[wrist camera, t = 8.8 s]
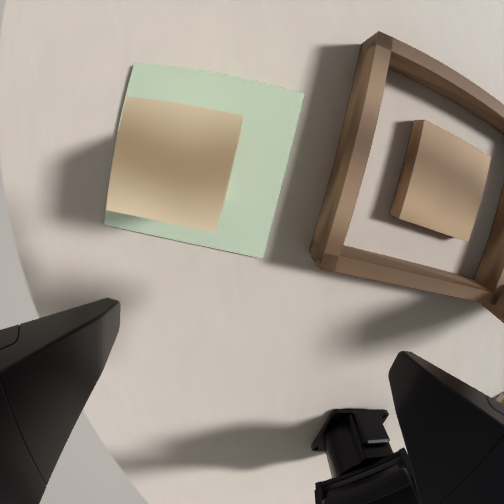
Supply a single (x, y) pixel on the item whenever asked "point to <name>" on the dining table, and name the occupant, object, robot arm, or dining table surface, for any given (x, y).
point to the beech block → (173, 162)
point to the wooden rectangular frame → (413, 177)
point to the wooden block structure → (497, 307)
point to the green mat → (246, 159)
